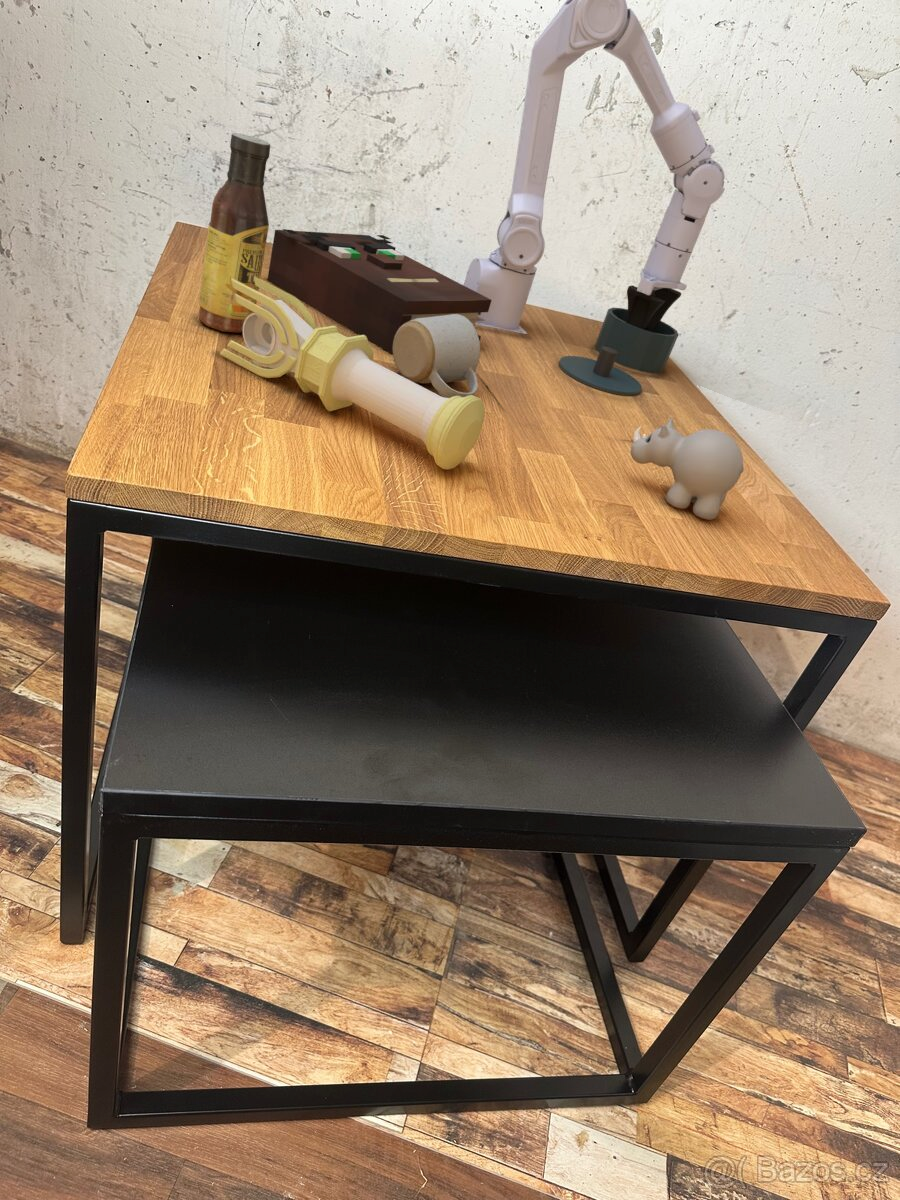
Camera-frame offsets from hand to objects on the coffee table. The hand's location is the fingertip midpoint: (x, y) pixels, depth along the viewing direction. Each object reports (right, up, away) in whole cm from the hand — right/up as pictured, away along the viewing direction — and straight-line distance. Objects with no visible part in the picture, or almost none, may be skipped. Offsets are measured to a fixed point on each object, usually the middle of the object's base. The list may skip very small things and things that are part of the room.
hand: (637, 335), depth 134 cm
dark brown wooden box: (-40, -2, -14) cm, 42 cm away
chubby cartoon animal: (-5, -30, -39) cm, 50 cm away
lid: (-8, -9, -11) cm, 17 cm away
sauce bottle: (-55, -9, -34) cm, 65 cm away
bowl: (-1, -3, +2) cm, 4 cm away
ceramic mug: (-31, -15, -31) cm, 46 cm away
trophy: (-40, -22, -45) cm, 64 cm away
